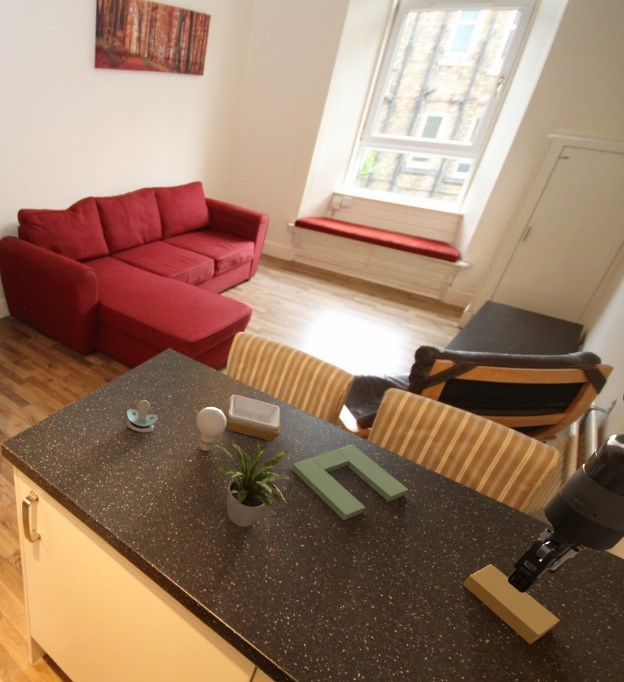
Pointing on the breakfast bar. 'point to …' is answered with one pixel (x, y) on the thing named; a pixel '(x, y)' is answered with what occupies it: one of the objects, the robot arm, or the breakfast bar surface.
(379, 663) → the breakfast bar surface
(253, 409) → the soap dish
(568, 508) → the robot arm
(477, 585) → the ochre pad
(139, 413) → the pacifier
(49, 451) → the breakfast bar surface
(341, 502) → the green u-shaped block
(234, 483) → the house plant
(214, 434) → the lightbulb
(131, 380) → the breakfast bar surface
